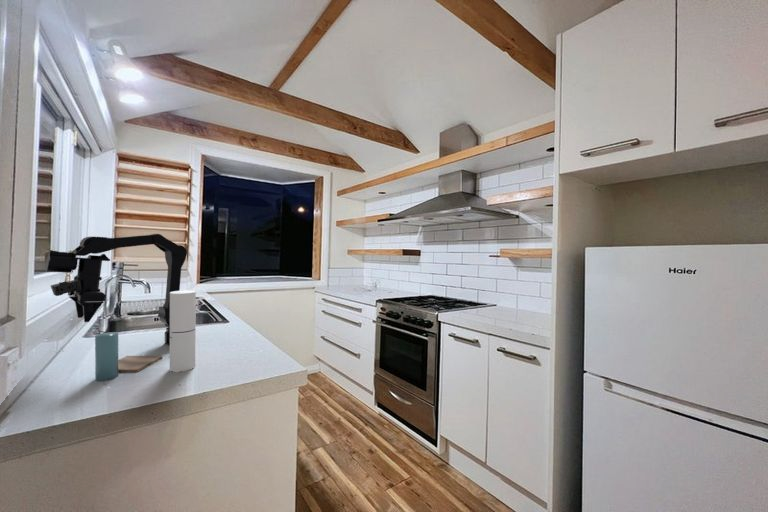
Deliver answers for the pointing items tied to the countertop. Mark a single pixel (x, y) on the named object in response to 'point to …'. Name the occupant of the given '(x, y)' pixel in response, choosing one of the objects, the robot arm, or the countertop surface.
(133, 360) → the walnut board
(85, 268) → the robot arm
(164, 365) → the countertop surface
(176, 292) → the cylindrical container
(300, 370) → the countertop surface
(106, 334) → the cylinder
